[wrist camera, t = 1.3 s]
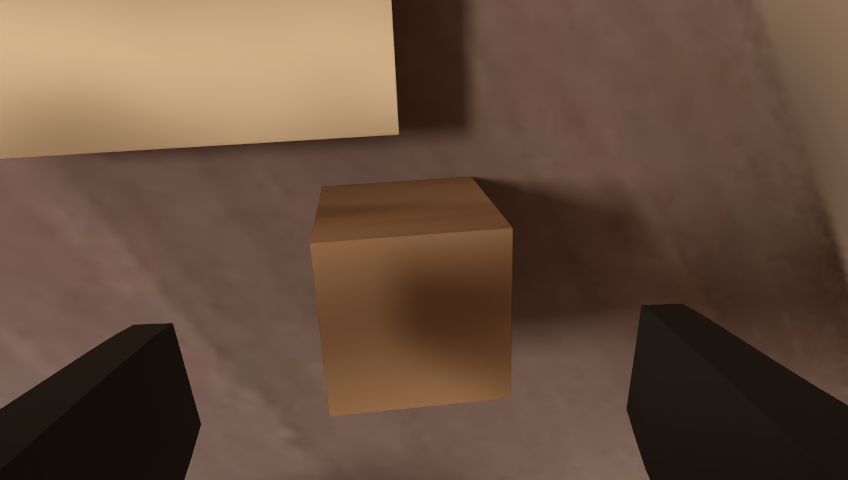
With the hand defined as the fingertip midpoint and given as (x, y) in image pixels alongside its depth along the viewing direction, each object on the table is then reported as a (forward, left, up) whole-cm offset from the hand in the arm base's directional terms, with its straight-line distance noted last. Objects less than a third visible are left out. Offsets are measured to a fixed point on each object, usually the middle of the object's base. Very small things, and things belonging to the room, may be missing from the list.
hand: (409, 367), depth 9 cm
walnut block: (-2, 0, -9) cm, 9 cm away
